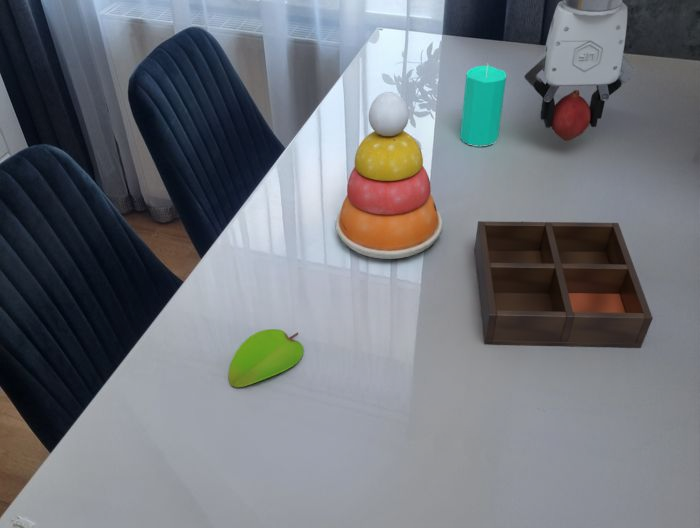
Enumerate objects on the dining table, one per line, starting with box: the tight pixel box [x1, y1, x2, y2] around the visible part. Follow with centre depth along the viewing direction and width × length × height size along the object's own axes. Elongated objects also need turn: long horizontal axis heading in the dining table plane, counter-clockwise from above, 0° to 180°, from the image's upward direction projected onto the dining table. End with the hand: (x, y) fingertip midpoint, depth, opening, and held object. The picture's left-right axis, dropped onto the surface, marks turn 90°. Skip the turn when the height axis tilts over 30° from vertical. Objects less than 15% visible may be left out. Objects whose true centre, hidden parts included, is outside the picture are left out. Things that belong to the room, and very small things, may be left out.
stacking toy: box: [335, 91, 443, 260], centre depth 86 cm, size 14×14×20 cm
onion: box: [550, 89, 591, 142], centre depth 102 cm, size 6×6×8 cm
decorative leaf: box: [228, 328, 304, 388], centre depth 76 cm, size 8×9×1 cm
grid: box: [473, 220, 653, 349], centre depth 81 cm, size 17×17×5 cm
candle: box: [459, 63, 507, 146], centre depth 105 cm, size 6×6×12 cm
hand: (569, 122), depth 102 cm, fingers closed on onion, 5 cm apart
